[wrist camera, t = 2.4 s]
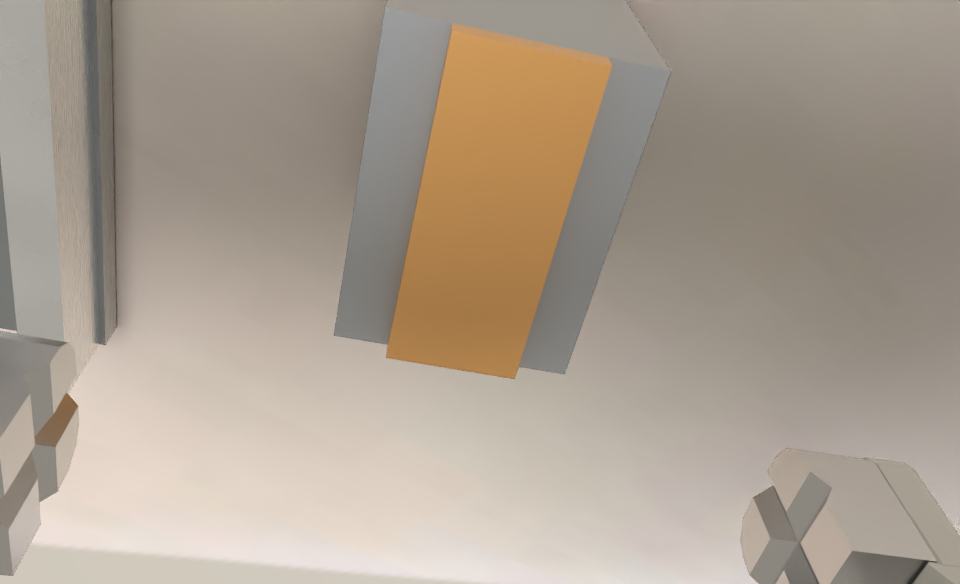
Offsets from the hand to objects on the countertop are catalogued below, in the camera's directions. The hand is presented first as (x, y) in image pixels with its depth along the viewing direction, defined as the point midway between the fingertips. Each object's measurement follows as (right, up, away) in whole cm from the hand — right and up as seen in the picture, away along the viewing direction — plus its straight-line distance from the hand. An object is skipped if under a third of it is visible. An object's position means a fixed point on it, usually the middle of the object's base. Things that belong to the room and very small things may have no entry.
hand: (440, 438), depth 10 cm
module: (+1, +6, +9) cm, 11 cm away
